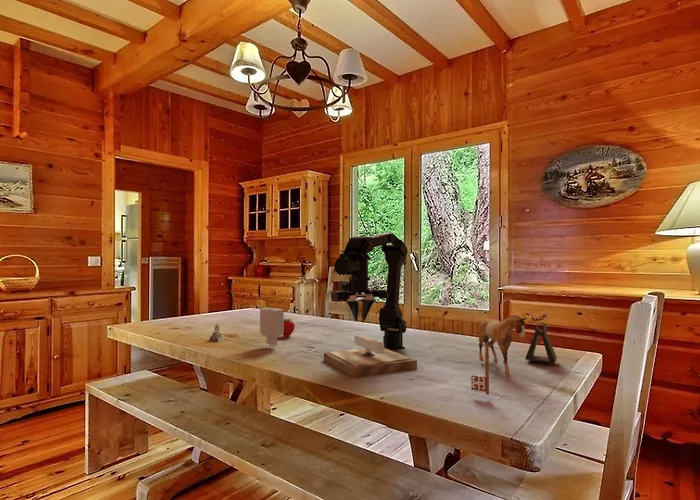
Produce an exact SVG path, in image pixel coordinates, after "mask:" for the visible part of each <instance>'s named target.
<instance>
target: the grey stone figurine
mask: <svg viewBox="0 0 700 500" xmlns="http://www.w3.org/2000/svg"><path fill="white" fill-rule="evenodd" d="M225 339H226V338H225V335H224V334H221V332H220V325H219V324H215V326H214V332H212V334H211V336H210V337H209V340H211V341H214V342H218V343H221V342H225Z"/></svg>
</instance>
